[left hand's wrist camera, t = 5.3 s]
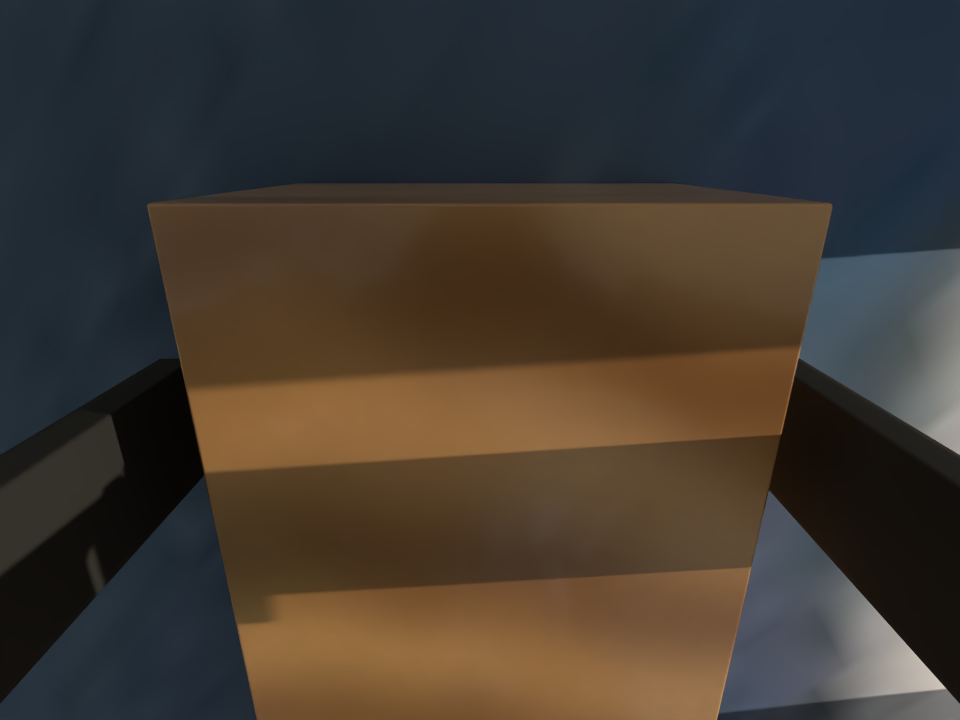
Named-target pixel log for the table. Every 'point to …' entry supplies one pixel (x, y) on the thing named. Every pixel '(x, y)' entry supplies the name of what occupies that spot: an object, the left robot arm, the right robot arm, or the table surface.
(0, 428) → the table surface
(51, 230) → the table surface
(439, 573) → the slab
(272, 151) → the table surface
